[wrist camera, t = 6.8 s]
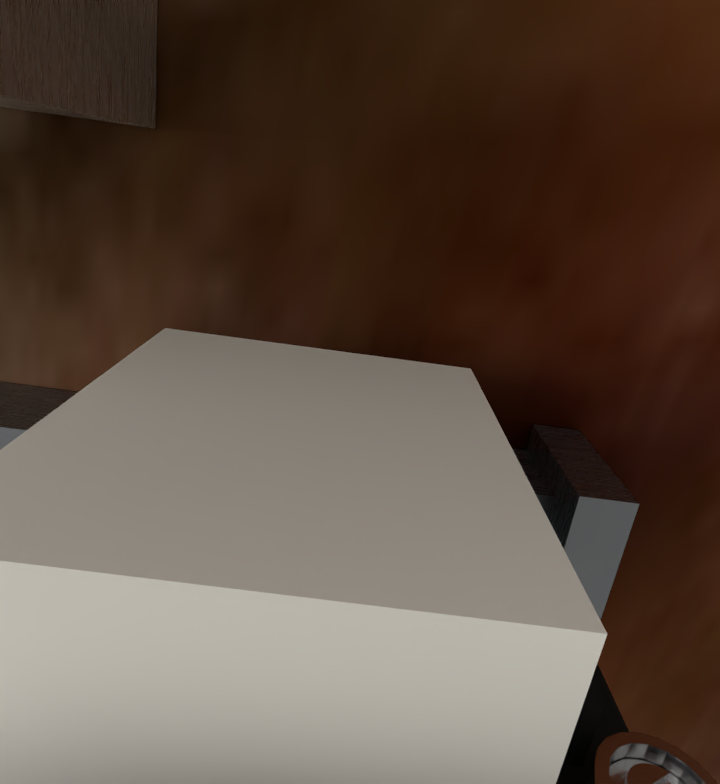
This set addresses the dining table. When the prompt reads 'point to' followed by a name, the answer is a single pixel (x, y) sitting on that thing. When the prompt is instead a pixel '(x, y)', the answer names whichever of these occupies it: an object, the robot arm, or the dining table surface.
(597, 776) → the robot arm
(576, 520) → the rail
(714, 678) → the dining table surface
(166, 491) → the carriage
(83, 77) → the grey box
